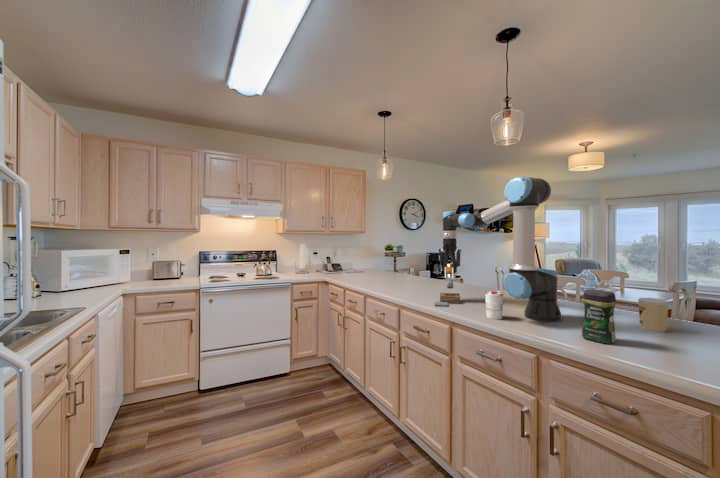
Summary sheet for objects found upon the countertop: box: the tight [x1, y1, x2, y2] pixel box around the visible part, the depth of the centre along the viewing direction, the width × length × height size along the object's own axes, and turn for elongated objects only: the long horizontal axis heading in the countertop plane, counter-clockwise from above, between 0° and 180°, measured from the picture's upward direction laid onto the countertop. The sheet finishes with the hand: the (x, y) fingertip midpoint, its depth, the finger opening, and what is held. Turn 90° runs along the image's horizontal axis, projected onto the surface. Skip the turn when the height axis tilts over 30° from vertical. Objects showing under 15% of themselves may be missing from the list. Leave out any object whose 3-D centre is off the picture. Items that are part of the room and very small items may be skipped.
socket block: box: [439, 292, 461, 305], centre depth 184 cm, size 11×11×4 cm
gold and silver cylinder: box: [446, 263, 454, 289], centre depth 184 cm, size 4×4×14 cm
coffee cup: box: [637, 297, 670, 333], centre depth 130 cm, size 9×9×12 cm
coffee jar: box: [581, 288, 617, 344], centre depth 117 cm, size 10×8×19 cm
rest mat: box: [434, 301, 449, 308], centre depth 176 cm, size 7×7×1 cm
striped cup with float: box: [484, 290, 505, 321], centre depth 149 cm, size 10×8×12 cm
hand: (450, 278), depth 184 cm, fingers closed on gold and silver cylinder, 4 cm apart
